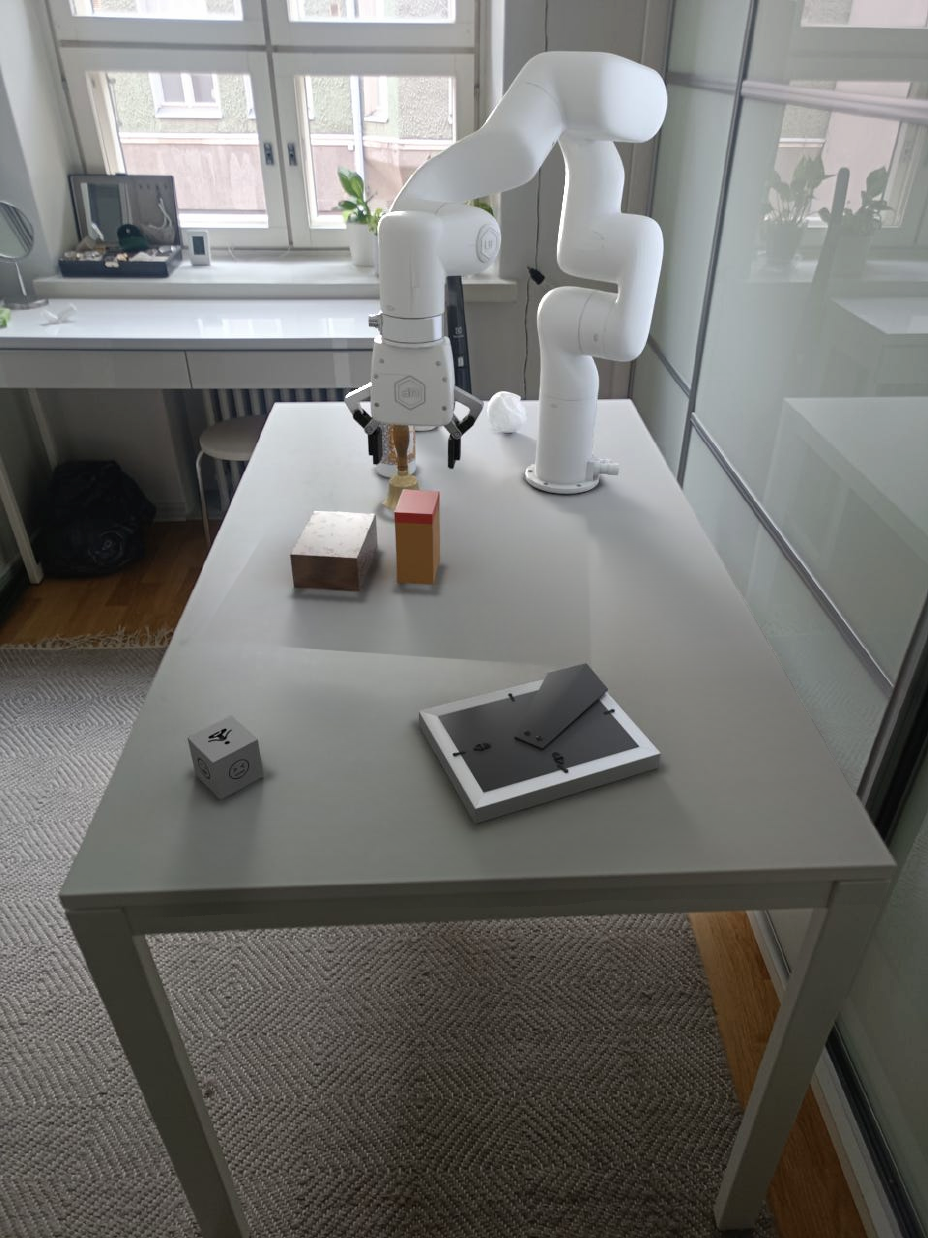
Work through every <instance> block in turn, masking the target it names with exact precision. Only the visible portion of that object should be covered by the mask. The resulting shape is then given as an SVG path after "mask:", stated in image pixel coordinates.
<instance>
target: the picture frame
mask: <svg viewBox="0 0 928 1238" xmlns="http://www.w3.org/2000/svg"><path fill="white" fill-rule="evenodd" d="M608 691H609V688H608V687H607V686H606V684H605V682H603V681H602V680H601V678H600V677H599V676H598V675H597V674H596V673H595V671H594V670H593V669H592V667H591V666H590V665H589V664H588V663H587V662H585V663H581V664H577V665H572V666H570V667H565V668H561V669H558V670H554V671H553V670H552V671H549V672H546V676H545V677H544V678H542V679H538V680H535V681H534V680H533V681H530V682H525V683H522V684H518V685H514V686H510V687H507V688H503V689H499V690H495V691H490V692H487V693H483V694H479V695H475V696H472V697H467V698H463V699H460V700H455V701H452V702H448V703H444V704H440V705H436V706H433V707H432V706H431V707H428V708H424V709H420V710H418V725H419V728H420V729H421V731H422V733H423V735H424V736H425V738H426V740H427V742H428V744H429V745H430V747H431V749H432V751H433V753H434V754H435V755H436V758H437V760H438V761H439V763H440V765H441V766H442V768H443V770H444V772H445V773H446V775H447V777H448V779H449V780H450V782H451V784H452V786H453V787H454V790H455V792H456V793H457V795H458V796H459V798H460V800H461V802H462V803H463V805H464V807H465V808H466V809H465V810H466V811H467V812H468V814H469V816H470V817H471V819H472V821H473V823H474V824H475V825H477V824H480V823H483V822H486V821H490V820H493V819H496V818H500V817H502V816H503V817H504V816H507V815H510V814H512V813H516V812H519V811H522V810H526V809H529V808H532V807H536V806H539V805H542V804H545V803H548V802H552V801H555V800H558V799H562V798H565V797H568V796H572V795H575V794H577V793H582V792H584V791H588V790H591V789H594V788H597V787H601V786H604V785H608V784H610V783H614V782H617V781H620V780H623V779H627V778H630V777H633V776H636V775H640V774H643V773H647V772H650V771H653V770H656V769H659V766H660V760H661V755H662V752H661V751H660V750H659V749H658V748H657V747H656V746H655V745H654V744H653V743H652V742H651V740H650V739H649V738H648V737H647V735H645V733H644V732H643V731H642V730H641V729H640V727H639V726H638V725H637V724H636V723H635V722H634V721H633V720H632V718H631V717H630V716H629V715H628V714H627V713H626V711H624V709H622V707H620V705H619V704H618V703H617V702H616V701H615V699H614V698H613V697H612V696H611V695H610V694H609V693H608Z"/></svg>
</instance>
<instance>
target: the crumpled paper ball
mask: <svg viewBox="0 0 928 1238" xmlns="http://www.w3.org/2000/svg"><path fill="white" fill-rule="evenodd" d="M521 398H522V397H521V396H520V395H518V394H516V393H513V392H511V391H506V390H505V391H504V390H503V391H498V392H496V393H495V394H494V395H493V396H492V397H491V398H490V400H489V402H488V404H487V410H486V411H487V413H486V414H487V419H488V422H489V423H490V425H491V426H492V428H494V429H495V430H497V431H498V432H501V433H508V434H510V433H514V432H517V431H519V430H521V429H522V428H523V427H524V425H525V424H526V422H527V420H528V419H527V409H526V408H525V406H524V404H522V402H521V400H522V399H521Z"/></svg>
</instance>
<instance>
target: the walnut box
mask: <svg viewBox="0 0 928 1238" xmlns="http://www.w3.org/2000/svg"><path fill="white" fill-rule="evenodd" d="M378 546H379V545H378V527H377V514H376V513H368V512H367V513H365V512H349V511H347V512H345V511H329V510H314V511H313V513H312V514H311V516H310V518H309V519H308V521H307V523H306V524H305V527H304V529H303V530H302V532H301V533H300V536H299V537H298V539H297V541H296V543H295V544H294V546H293V548H292V549H291V552H290V554H289V557H290V566H291V567H290V568H291V575H292V583H293V588H295V589H311V590H324V591H325V590H326V591H327V590H328V591H343V592H358V593H359V592H360V591H361V589H362V586H363V584H364V581H365V579H366V576H367V573H368V571H369V569H370V566H371V563H372V561H373V558H374V557H375V553H376V551H377V548H378Z"/></svg>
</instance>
